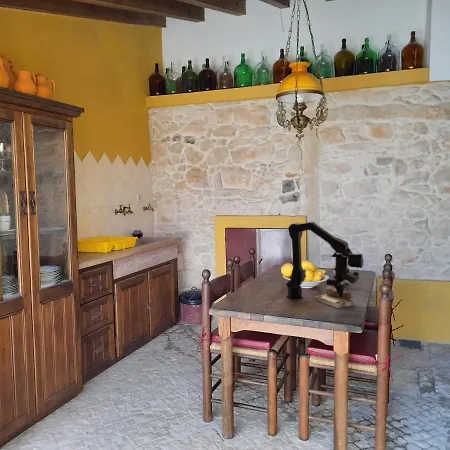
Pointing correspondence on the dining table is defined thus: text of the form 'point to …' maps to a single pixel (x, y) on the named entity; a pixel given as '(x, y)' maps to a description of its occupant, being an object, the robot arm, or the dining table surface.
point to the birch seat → (334, 301)
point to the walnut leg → (334, 292)
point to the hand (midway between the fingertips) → (340, 297)
